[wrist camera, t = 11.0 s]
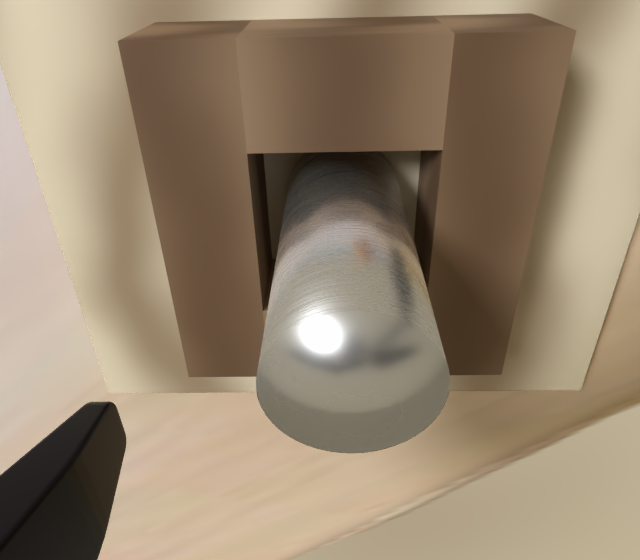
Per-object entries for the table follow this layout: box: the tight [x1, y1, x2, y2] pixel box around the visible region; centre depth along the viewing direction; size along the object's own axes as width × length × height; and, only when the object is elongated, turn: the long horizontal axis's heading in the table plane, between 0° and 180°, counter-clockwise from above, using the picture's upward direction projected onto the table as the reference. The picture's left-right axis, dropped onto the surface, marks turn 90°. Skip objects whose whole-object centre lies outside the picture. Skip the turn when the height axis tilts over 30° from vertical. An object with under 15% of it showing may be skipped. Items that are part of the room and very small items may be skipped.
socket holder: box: [0, 0, 640, 393], centre depth 18 cm, size 22×20×4 cm
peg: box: [256, 151, 450, 453], centre depth 15 cm, size 4×4×10 cm
